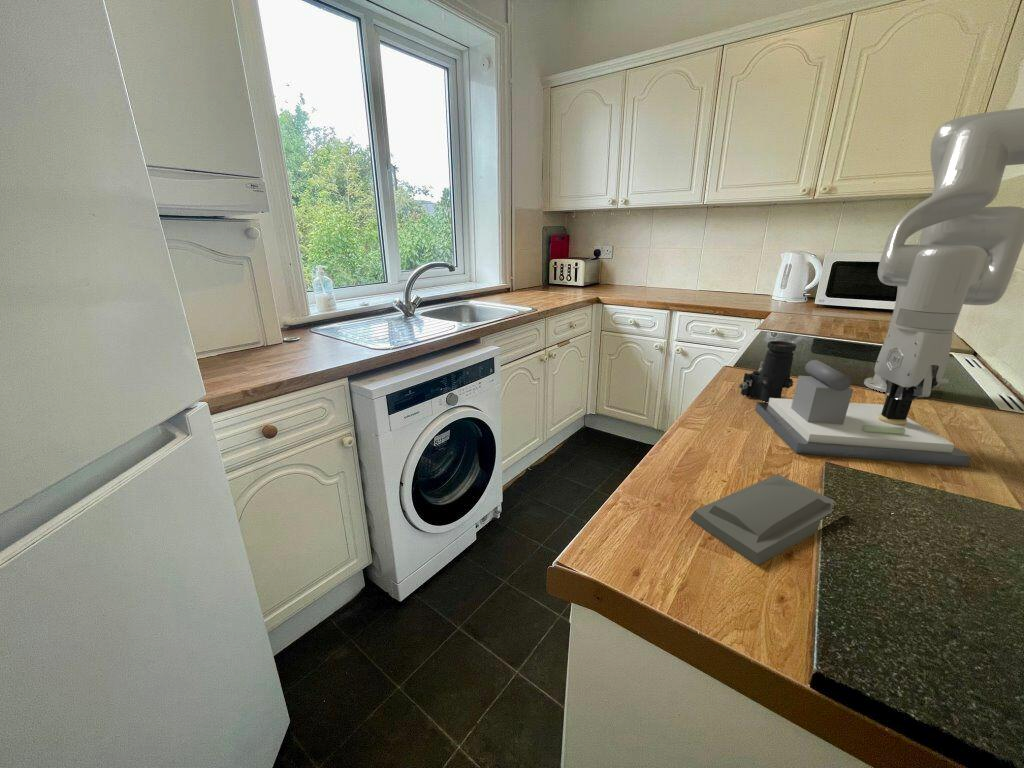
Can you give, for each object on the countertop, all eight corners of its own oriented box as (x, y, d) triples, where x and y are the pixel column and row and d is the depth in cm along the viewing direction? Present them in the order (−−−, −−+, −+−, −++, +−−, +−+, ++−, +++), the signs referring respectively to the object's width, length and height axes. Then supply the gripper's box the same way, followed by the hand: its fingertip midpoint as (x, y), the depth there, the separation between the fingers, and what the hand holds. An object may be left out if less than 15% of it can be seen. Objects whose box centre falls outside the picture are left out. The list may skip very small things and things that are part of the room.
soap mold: (846, 519, 57) (853, 498, 56) (757, 570, 48) (763, 546, 47) (773, 483, 66) (777, 463, 65) (686, 521, 57) (689, 499, 56)
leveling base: (887, 418, 88) (890, 410, 87) (966, 466, 69) (970, 456, 68) (754, 410, 92) (756, 401, 91) (795, 453, 74) (798, 443, 73)
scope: (766, 336, 100) (810, 345, 92) (755, 389, 105) (796, 402, 96) (745, 340, 96) (790, 349, 88) (735, 395, 101) (776, 409, 93)
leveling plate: (882, 411, 86) (899, 358, 83) (951, 452, 70) (977, 388, 66) (768, 404, 90) (779, 353, 86) (807, 441, 73) (824, 380, 70)
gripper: (873, 313, 79) (847, 402, 85) (933, 328, 65) (897, 433, 71) (918, 314, 78) (889, 404, 84) (989, 330, 64) (948, 436, 70)
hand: (893, 417), depth 78 cm, fingers closed
